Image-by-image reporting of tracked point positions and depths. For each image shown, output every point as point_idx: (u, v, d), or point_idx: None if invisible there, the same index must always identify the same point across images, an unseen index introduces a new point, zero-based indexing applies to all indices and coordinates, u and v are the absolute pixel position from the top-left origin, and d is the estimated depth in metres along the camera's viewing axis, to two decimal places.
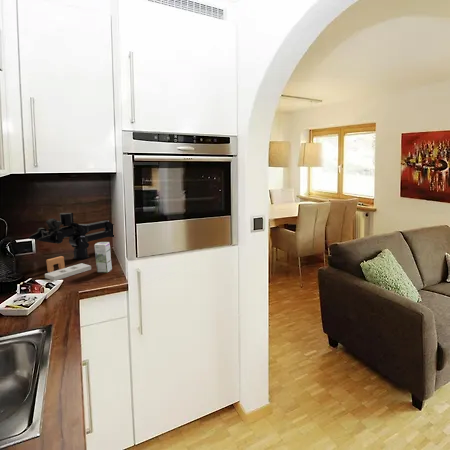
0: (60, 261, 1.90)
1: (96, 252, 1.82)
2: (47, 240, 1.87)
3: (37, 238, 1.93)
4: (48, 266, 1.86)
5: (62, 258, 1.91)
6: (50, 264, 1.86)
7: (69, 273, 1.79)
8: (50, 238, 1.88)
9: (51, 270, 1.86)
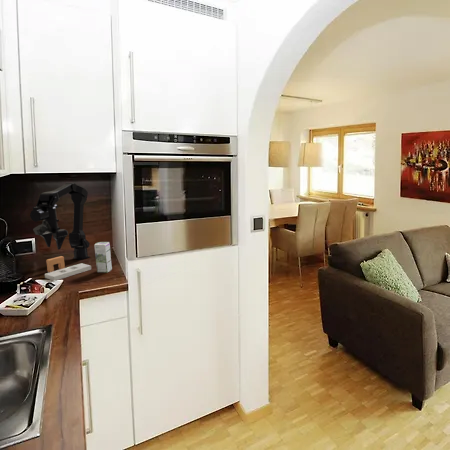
0: (60, 261, 1.90)
1: (96, 252, 1.82)
2: (61, 242, 1.84)
3: (50, 238, 1.91)
4: (48, 266, 1.86)
5: (62, 258, 1.91)
6: (50, 264, 1.86)
7: (69, 273, 1.79)
8: (60, 238, 1.84)
9: (51, 270, 1.86)
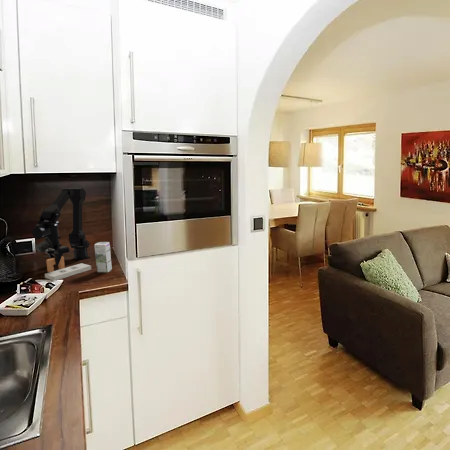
0: (60, 261, 1.90)
1: (96, 252, 1.82)
2: (59, 257, 1.88)
3: None
4: (48, 266, 1.86)
5: (62, 258, 1.91)
6: (50, 264, 1.86)
7: (69, 273, 1.79)
8: (58, 254, 1.87)
9: (51, 270, 1.86)
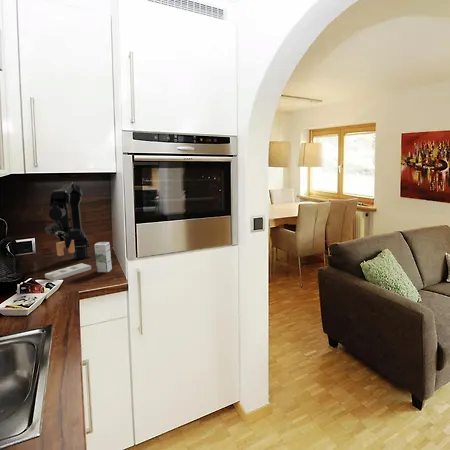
0: (70, 245, 1.82)
1: (96, 252, 1.82)
2: (70, 241, 1.80)
3: None
4: (58, 249, 1.78)
5: (72, 241, 1.82)
6: (60, 247, 1.77)
7: (69, 273, 1.79)
8: (68, 237, 1.79)
9: (61, 254, 1.78)
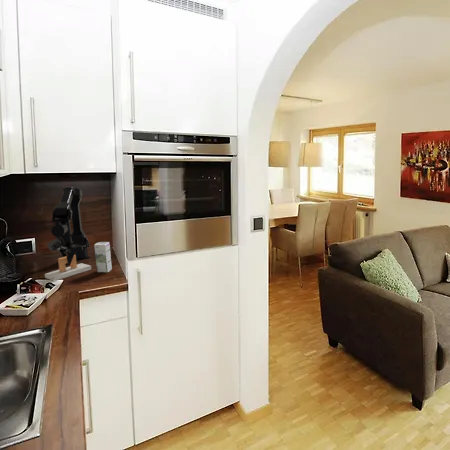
0: (72, 260, 1.83)
1: (96, 252, 1.82)
2: (72, 256, 1.81)
3: None
4: (60, 265, 1.79)
5: (74, 257, 1.84)
6: (62, 263, 1.79)
7: (69, 273, 1.79)
8: (70, 252, 1.81)
9: (63, 269, 1.80)
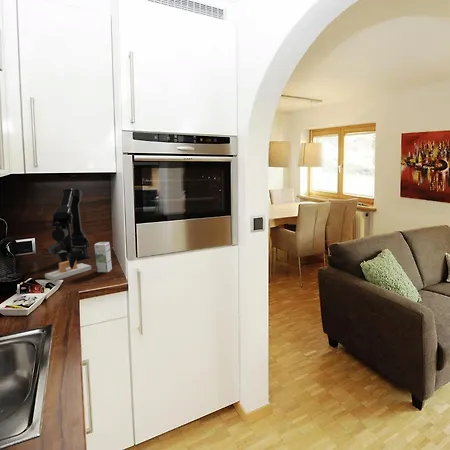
0: None
1: (96, 252, 1.82)
2: (74, 260, 1.81)
3: (66, 257, 1.85)
4: (60, 270, 1.80)
5: (75, 261, 1.84)
6: (62, 268, 1.79)
7: (69, 273, 1.79)
8: (73, 257, 1.80)
9: None
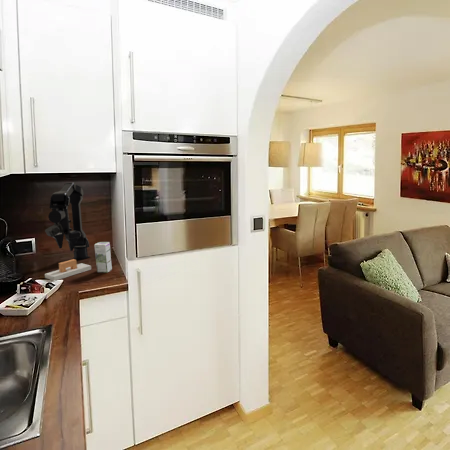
0: (73, 264, 1.84)
1: (96, 252, 1.82)
2: (74, 243, 1.81)
3: (61, 239, 1.87)
4: (60, 270, 1.80)
5: (75, 261, 1.84)
6: (62, 268, 1.79)
7: (69, 273, 1.79)
8: (72, 239, 1.80)
9: None
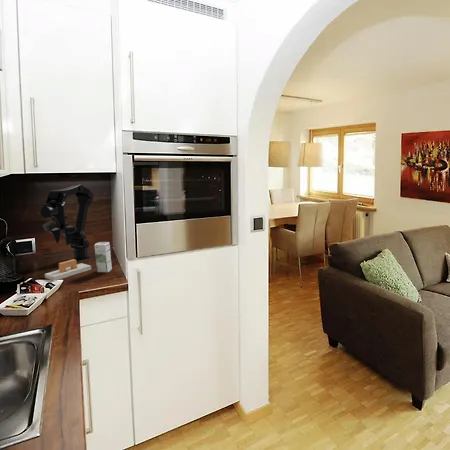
0: (73, 264, 1.84)
1: (96, 252, 1.82)
2: (70, 238, 1.90)
3: (58, 234, 1.97)
4: (60, 270, 1.80)
5: (75, 261, 1.84)
6: (62, 268, 1.79)
7: (69, 273, 1.79)
8: (68, 234, 1.89)
9: None
